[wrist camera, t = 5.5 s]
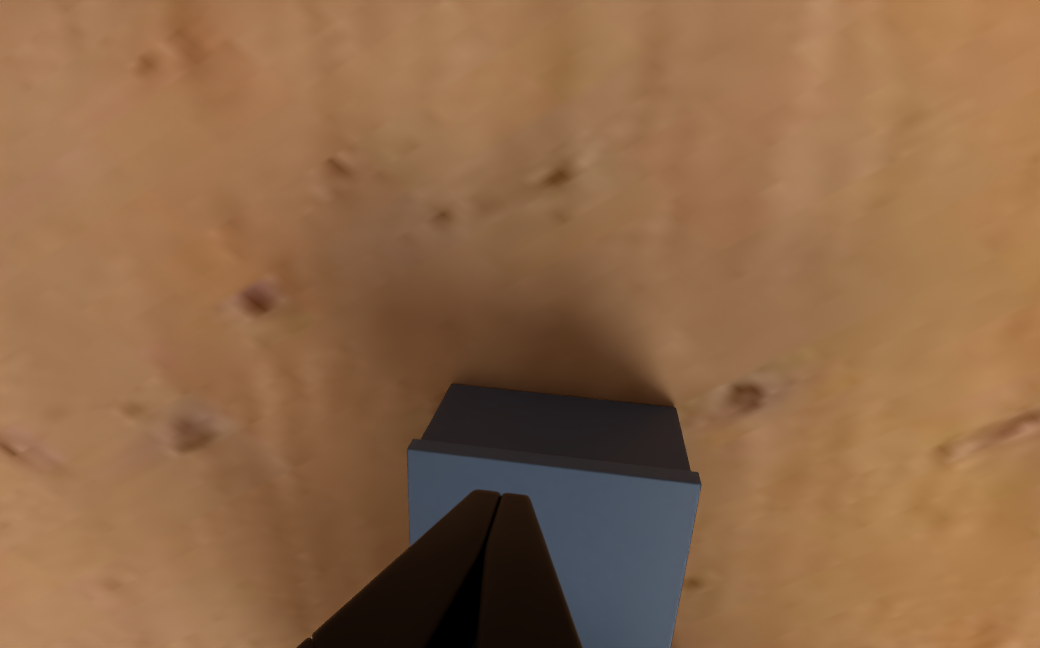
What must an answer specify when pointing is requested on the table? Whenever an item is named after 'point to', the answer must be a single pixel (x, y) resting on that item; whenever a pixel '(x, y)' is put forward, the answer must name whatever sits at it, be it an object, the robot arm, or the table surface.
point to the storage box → (574, 497)
